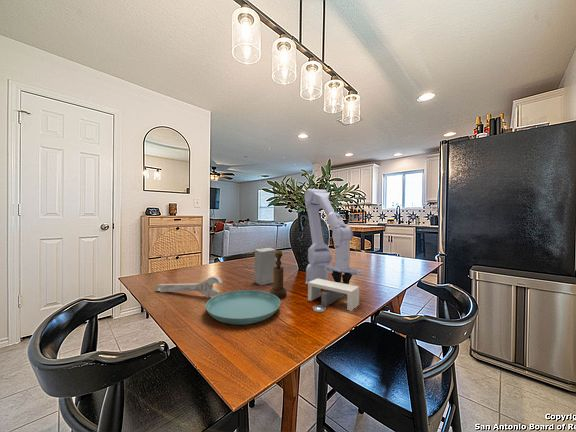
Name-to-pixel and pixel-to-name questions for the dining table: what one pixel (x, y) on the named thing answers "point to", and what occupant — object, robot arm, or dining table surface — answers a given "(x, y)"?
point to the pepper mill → (278, 278)
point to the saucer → (243, 306)
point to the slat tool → (330, 297)
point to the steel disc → (319, 308)
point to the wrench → (193, 287)
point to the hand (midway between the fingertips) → (341, 290)
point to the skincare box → (264, 265)
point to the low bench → (350, 290)
